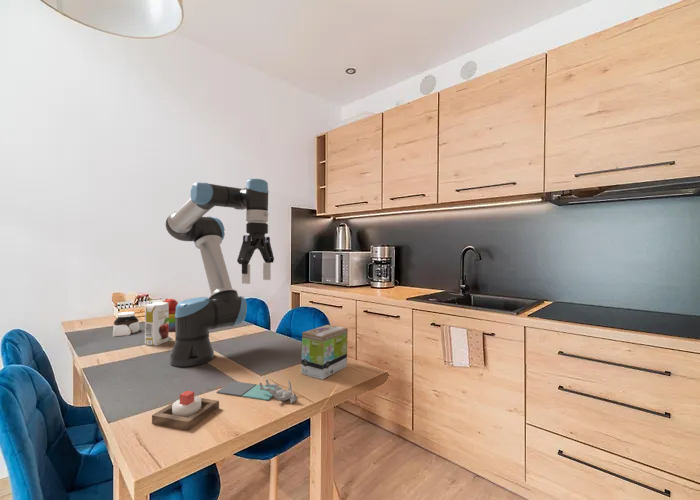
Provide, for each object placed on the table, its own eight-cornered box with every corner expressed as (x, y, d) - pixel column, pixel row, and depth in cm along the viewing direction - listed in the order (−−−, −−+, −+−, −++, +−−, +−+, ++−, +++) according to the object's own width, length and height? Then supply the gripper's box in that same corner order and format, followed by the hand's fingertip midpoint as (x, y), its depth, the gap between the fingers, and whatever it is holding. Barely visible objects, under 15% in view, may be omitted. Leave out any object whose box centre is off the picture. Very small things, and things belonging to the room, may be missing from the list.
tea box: (323, 381, 105) (323, 336, 105) (300, 374, 110) (300, 332, 110) (348, 366, 118) (348, 326, 117) (326, 361, 123) (326, 323, 123)
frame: (151, 423, 79) (151, 415, 79) (185, 402, 89) (185, 395, 89) (188, 430, 76) (188, 421, 76) (219, 408, 86) (219, 400, 86)
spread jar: (134, 333, 163) (134, 310, 163) (144, 336, 156) (144, 313, 156) (106, 338, 153) (106, 314, 153) (115, 342, 147) (115, 317, 147)
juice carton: (141, 348, 138) (141, 304, 138) (156, 342, 146) (156, 301, 146) (157, 349, 137) (157, 305, 137) (171, 343, 145) (171, 302, 145)
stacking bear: (186, 332, 164) (186, 298, 164) (166, 337, 156) (166, 301, 156) (174, 329, 170) (174, 296, 170) (154, 334, 161) (154, 299, 161)
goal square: (242, 396, 93) (242, 395, 93) (257, 385, 101) (257, 384, 101) (268, 400, 91) (268, 399, 91) (281, 388, 99) (281, 387, 99)
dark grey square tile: (216, 393, 96) (216, 391, 96) (233, 382, 103) (233, 381, 103) (241, 396, 93) (241, 395, 93) (256, 385, 101) (256, 384, 101)
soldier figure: (274, 375, 99) (303, 380, 93) (275, 390, 99) (304, 397, 93) (254, 385, 93) (284, 391, 86) (256, 401, 93) (285, 409, 86)
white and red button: (165, 419, 80) (165, 397, 80) (186, 406, 87) (186, 386, 87) (187, 423, 78) (187, 400, 78) (207, 410, 85) (207, 389, 85)
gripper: (246, 219, 101) (245, 285, 101) (283, 225, 125) (282, 278, 125) (226, 219, 103) (225, 284, 103) (266, 225, 127) (265, 278, 127)
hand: (257, 281), depth 114 cm, fingers open, 13 cm apart
